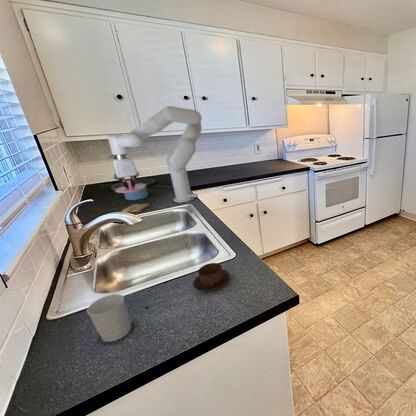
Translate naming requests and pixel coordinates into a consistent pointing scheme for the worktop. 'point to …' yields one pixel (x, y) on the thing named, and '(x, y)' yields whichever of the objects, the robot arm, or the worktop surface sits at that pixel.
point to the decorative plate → (137, 181)
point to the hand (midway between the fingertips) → (130, 187)
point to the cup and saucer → (211, 277)
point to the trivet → (136, 208)
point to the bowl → (137, 194)
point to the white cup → (110, 317)
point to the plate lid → (129, 188)
